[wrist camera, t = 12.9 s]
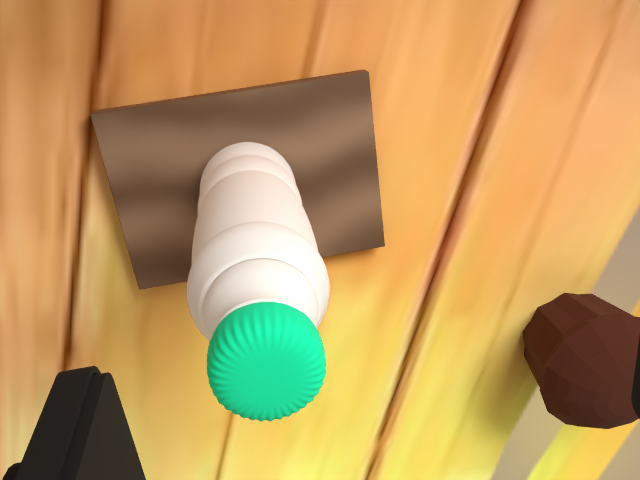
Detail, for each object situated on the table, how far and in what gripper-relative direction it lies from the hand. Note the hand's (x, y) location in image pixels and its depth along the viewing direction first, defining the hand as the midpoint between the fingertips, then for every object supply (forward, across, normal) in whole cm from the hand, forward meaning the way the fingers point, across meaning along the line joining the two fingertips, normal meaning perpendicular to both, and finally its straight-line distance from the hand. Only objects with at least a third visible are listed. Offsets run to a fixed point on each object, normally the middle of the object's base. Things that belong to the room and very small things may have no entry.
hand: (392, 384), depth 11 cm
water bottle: (+36, +3, +9) cm, 37 cm away
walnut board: (+37, +3, +9) cm, 38 cm away
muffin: (+37, -24, +28) cm, 53 cm away
